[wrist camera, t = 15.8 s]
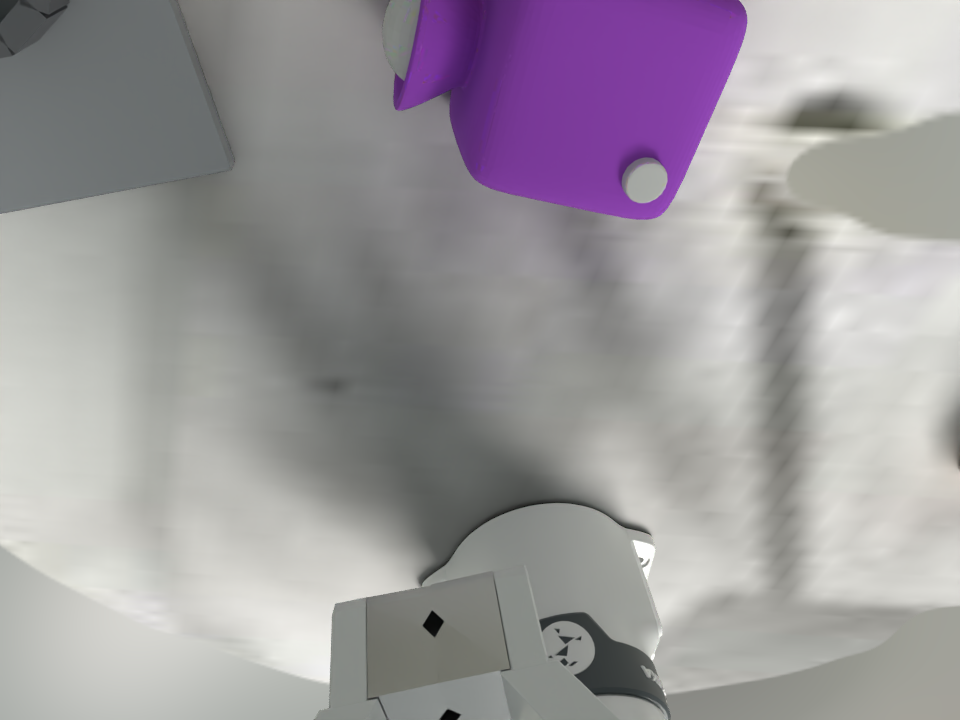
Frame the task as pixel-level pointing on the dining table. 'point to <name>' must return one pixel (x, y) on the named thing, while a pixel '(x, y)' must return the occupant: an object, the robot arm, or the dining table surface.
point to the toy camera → (570, 90)
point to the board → (105, 106)
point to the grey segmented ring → (28, 24)
